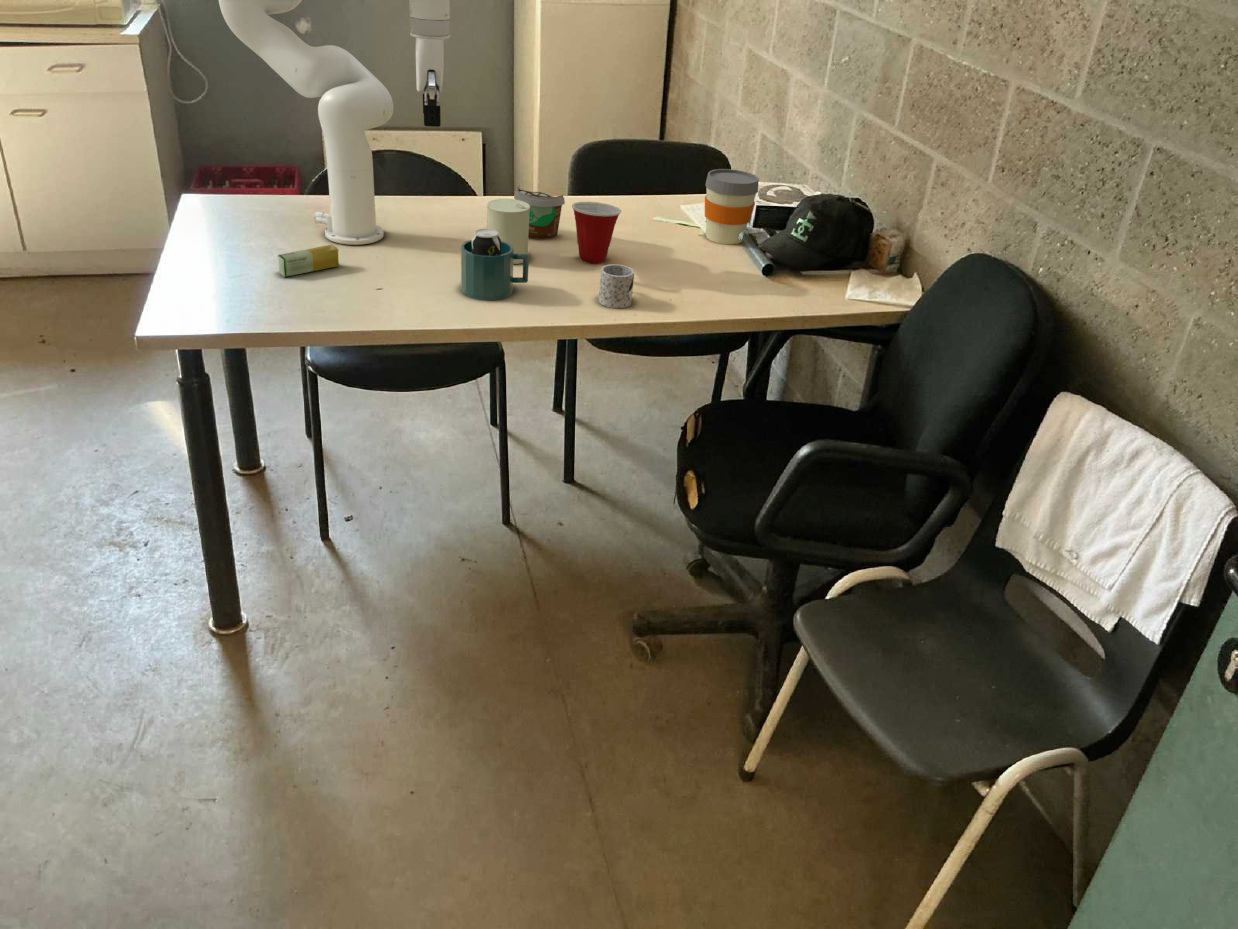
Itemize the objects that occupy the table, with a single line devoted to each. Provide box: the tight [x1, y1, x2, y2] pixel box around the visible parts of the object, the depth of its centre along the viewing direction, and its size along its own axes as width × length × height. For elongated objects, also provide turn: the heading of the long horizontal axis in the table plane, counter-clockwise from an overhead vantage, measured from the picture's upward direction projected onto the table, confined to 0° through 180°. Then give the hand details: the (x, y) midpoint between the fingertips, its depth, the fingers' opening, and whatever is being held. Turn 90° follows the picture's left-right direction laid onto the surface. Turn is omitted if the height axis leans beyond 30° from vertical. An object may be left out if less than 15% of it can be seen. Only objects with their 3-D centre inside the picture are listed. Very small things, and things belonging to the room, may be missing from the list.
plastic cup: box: [571, 201, 622, 265], centre depth 212 cm, size 11×11×12 cm
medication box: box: [277, 244, 340, 278], centre depth 195 cm, size 12×3×4 cm, turn 132°
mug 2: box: [598, 263, 635, 309], centre depth 195 cm, size 10×7×7 cm, turn 17°
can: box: [486, 198, 530, 265], centre depth 209 cm, size 9×9×12 cm
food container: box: [513, 185, 566, 240], centre depth 223 cm, size 12×6×10 cm, turn 68°
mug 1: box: [460, 239, 530, 301], centre depth 193 cm, size 13×10×9 cm
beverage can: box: [471, 228, 501, 256], centre depth 190 cm, size 6×6×12 cm
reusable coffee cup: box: [704, 168, 760, 245], centre depth 232 cm, size 13×13×15 cm
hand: (431, 120), depth 194 cm, fingers open, 9 cm apart
